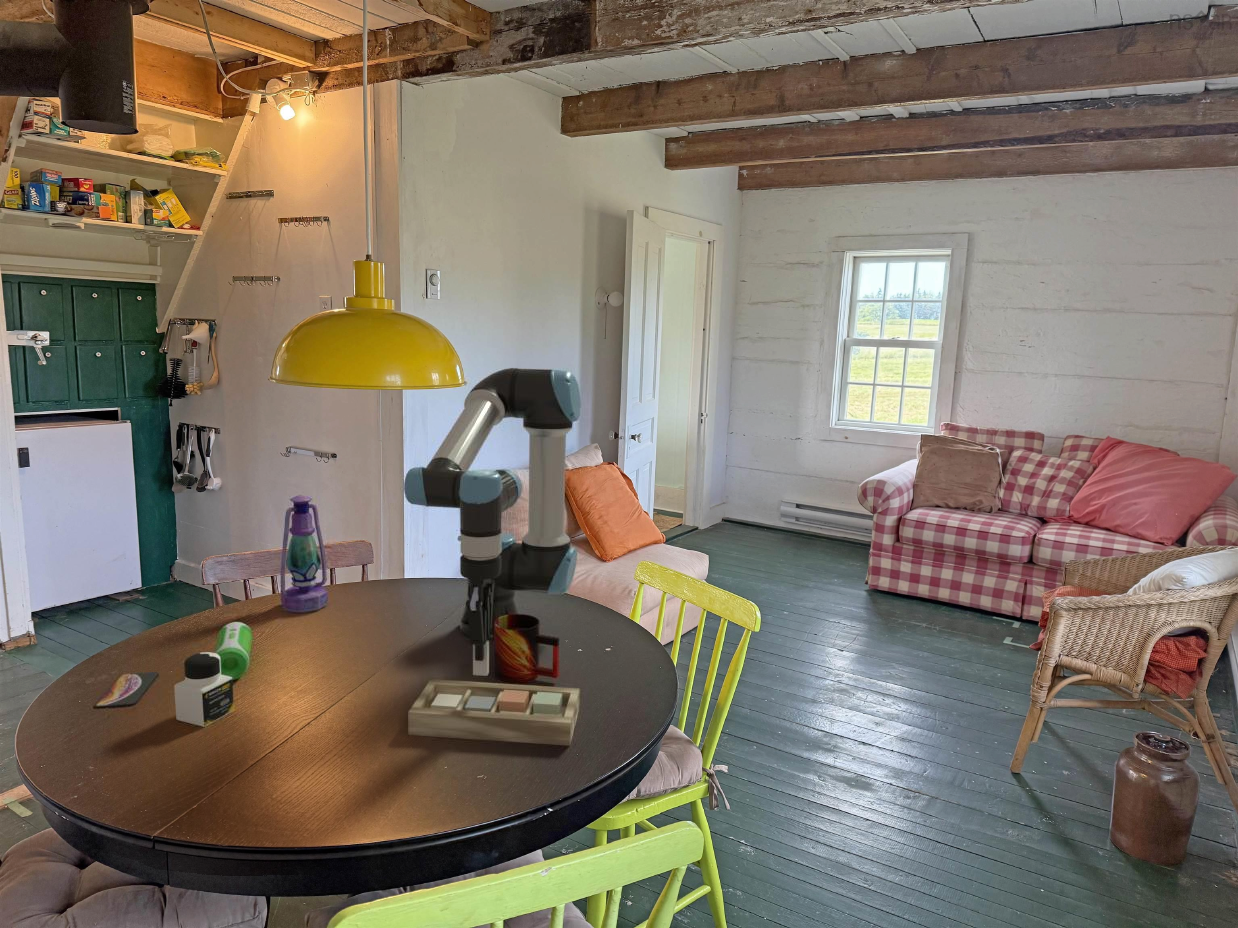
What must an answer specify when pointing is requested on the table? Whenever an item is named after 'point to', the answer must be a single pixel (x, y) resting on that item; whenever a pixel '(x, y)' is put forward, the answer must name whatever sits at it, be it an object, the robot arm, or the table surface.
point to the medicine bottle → (203, 691)
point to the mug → (521, 650)
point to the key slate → (480, 704)
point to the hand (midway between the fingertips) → (481, 673)
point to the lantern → (303, 559)
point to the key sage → (547, 703)
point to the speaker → (234, 649)
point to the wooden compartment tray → (493, 715)
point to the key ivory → (447, 701)
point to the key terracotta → (514, 701)
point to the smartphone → (127, 690)
